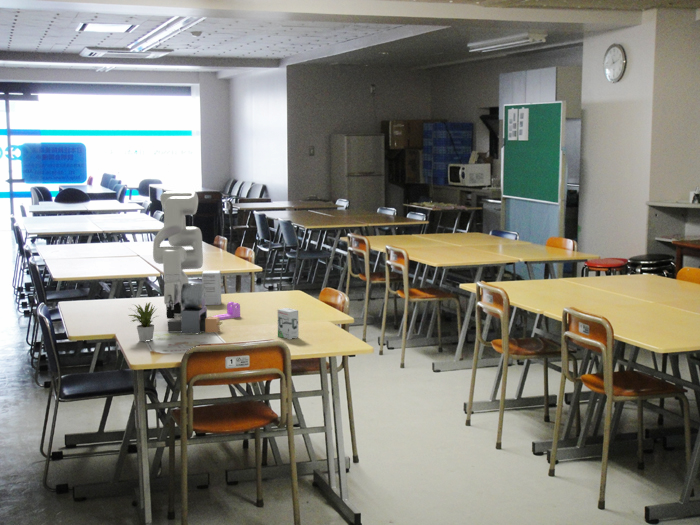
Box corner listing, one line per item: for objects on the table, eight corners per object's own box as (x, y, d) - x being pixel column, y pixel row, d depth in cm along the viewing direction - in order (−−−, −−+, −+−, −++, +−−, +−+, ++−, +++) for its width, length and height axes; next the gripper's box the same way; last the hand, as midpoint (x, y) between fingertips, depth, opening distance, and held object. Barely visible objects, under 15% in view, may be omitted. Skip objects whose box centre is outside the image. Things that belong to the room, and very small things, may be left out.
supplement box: (204, 302, 414) (203, 270, 412) (221, 301, 415) (220, 270, 413) (202, 305, 404) (201, 273, 402) (220, 304, 405) (219, 272, 403)
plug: (171, 329, 345) (170, 316, 344) (223, 330, 343) (222, 316, 342) (167, 331, 340) (166, 318, 339) (220, 332, 338) (219, 318, 337)
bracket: (233, 315, 377) (233, 301, 377) (240, 317, 373) (240, 302, 372) (210, 319, 369) (210, 304, 368) (217, 320, 365) (216, 306, 364)
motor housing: (189, 327, 348) (188, 281, 345) (207, 328, 347) (205, 281, 345) (181, 333, 336) (179, 285, 333) (199, 333, 335) (198, 285, 333)
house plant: (131, 336, 331) (130, 298, 329) (165, 335, 332) (163, 297, 330) (124, 344, 317) (122, 304, 315) (159, 343, 318) (157, 303, 316)
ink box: (277, 336, 330) (276, 308, 328) (286, 334, 333) (285, 307, 331) (290, 339, 323) (289, 311, 322) (299, 337, 327) (298, 310, 325)
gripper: (170, 274, 348) (171, 311, 351) (157, 281, 331) (159, 320, 334) (186, 274, 348) (188, 311, 351) (175, 281, 331) (176, 320, 334)
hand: (174, 315), depth 342 cm, fingers open, 9 cm apart
